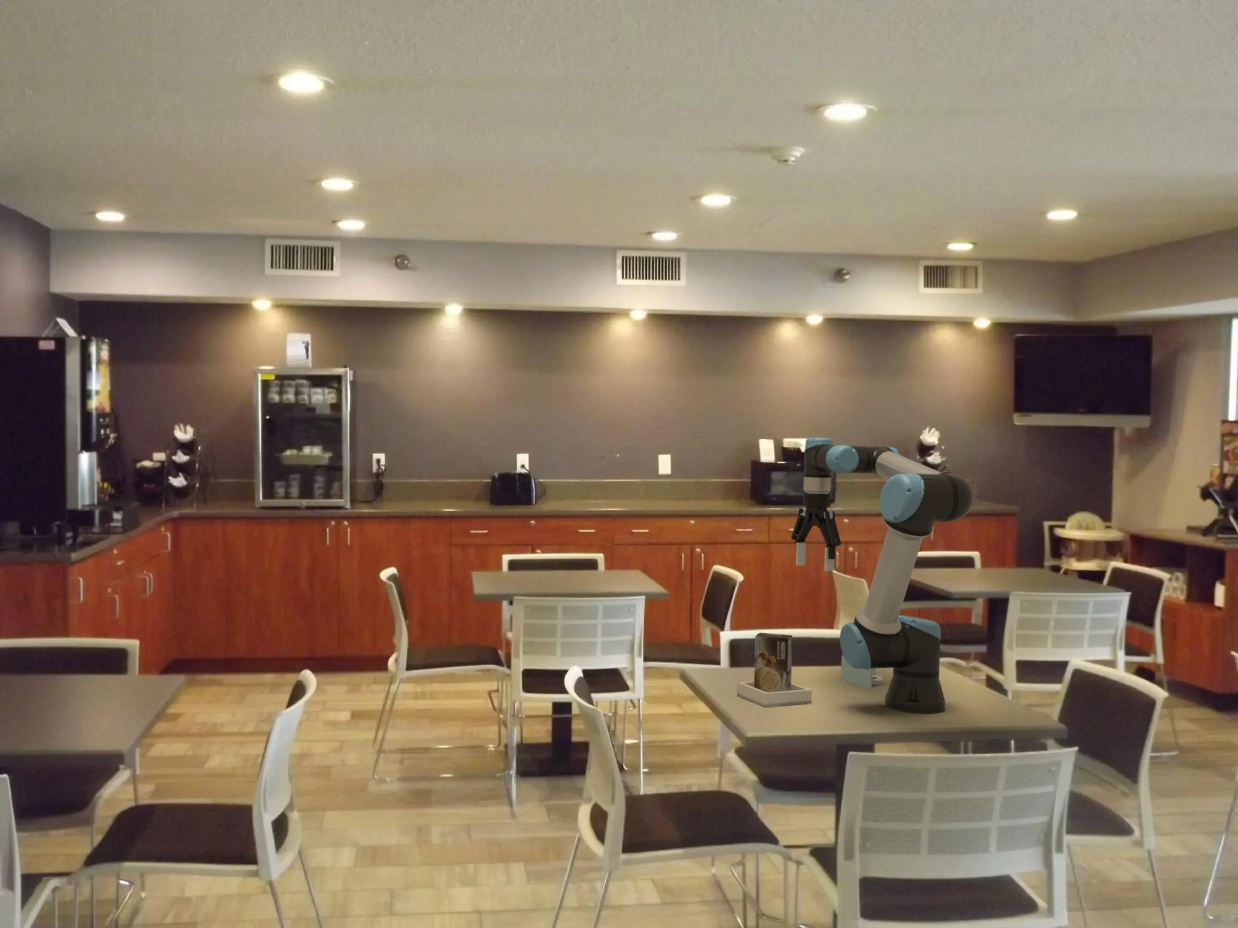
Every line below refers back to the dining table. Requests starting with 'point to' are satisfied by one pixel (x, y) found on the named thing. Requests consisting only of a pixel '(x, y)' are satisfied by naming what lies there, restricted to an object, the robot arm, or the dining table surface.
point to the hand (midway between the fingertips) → (814, 568)
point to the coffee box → (773, 662)
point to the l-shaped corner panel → (859, 675)
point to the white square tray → (774, 695)
